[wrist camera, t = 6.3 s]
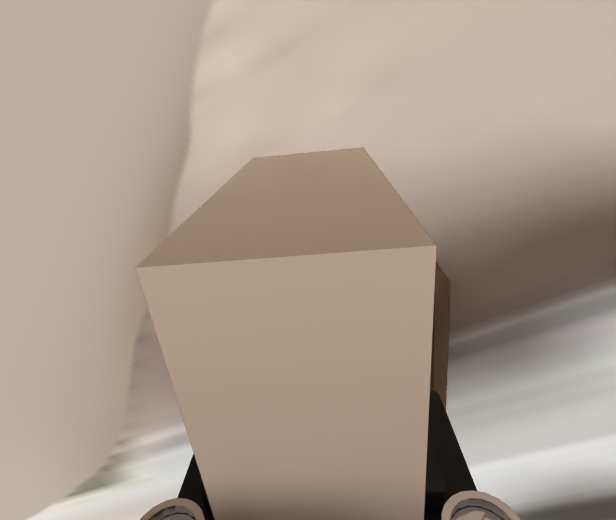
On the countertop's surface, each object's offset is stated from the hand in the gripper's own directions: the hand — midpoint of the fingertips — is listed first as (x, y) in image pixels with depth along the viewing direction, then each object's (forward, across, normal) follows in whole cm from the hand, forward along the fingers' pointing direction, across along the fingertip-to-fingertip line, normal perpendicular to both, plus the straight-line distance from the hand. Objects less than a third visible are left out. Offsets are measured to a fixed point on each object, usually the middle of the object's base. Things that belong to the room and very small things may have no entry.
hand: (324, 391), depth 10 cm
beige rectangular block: (+2, 0, 0) cm, 2 cm away
